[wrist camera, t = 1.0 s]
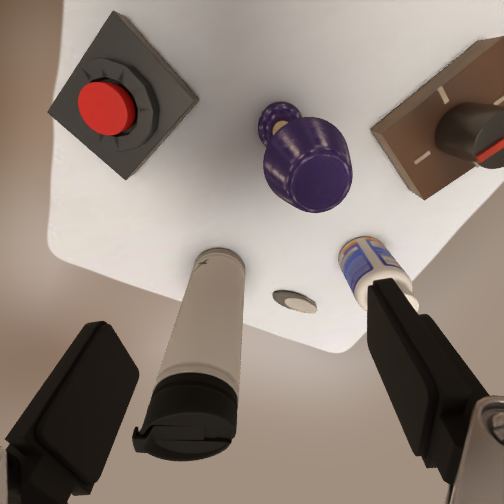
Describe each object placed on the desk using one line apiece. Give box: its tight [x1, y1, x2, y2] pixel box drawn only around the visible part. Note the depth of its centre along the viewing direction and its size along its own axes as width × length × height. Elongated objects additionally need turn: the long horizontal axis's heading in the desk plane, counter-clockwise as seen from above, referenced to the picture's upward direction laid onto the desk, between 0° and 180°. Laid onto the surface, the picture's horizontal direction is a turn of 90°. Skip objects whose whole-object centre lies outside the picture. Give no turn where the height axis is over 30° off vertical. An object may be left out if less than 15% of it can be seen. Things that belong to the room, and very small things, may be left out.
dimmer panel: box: [371, 36, 504, 200], centre depth 25 cm, size 10×8×3 cm
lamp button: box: [78, 82, 135, 135], centre depth 22 cm, size 4×4×2 cm
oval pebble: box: [273, 291, 317, 313], centre depth 37 cm, size 6×2×1 cm, turn 69°
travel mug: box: [132, 249, 245, 461], centre depth 27 cm, size 6×7×20 cm
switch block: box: [48, 10, 199, 180], centre depth 24 cm, size 10×8×4 cm
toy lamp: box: [258, 102, 352, 213], centre depth 20 cm, size 5×5×17 cm
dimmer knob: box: [435, 103, 504, 169], centre depth 22 cm, size 4×4×5 cm
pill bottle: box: [339, 237, 419, 312], centre depth 30 cm, size 5×5×10 cm
